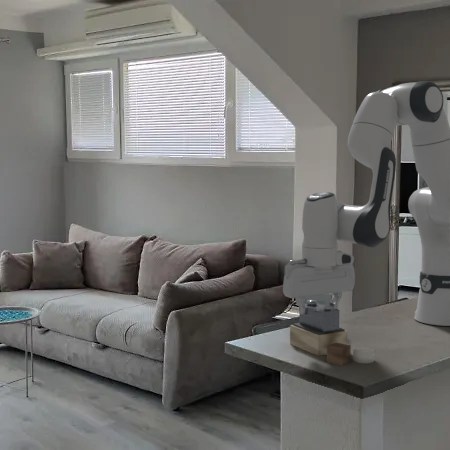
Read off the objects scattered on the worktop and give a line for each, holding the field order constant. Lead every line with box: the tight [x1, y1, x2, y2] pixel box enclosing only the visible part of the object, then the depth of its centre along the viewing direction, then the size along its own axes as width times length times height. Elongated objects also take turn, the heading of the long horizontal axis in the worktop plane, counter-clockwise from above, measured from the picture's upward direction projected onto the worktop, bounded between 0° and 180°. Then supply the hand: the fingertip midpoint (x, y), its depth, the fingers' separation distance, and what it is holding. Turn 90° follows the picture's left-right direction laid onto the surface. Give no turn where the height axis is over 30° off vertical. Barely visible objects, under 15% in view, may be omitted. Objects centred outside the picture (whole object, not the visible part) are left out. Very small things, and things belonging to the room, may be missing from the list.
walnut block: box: [326, 343, 352, 366], centre depth 165 cm, size 4×4×4 cm
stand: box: [289, 322, 348, 357], centre depth 176 cm, size 9×12×5 cm
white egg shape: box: [352, 347, 376, 365], centre depth 166 cm, size 5×5×2 cm
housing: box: [298, 300, 340, 332], centre depth 176 cm, size 10×5×6 cm, turn 29°
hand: (318, 311), depth 176 cm, fingers open, 8 cm apart
